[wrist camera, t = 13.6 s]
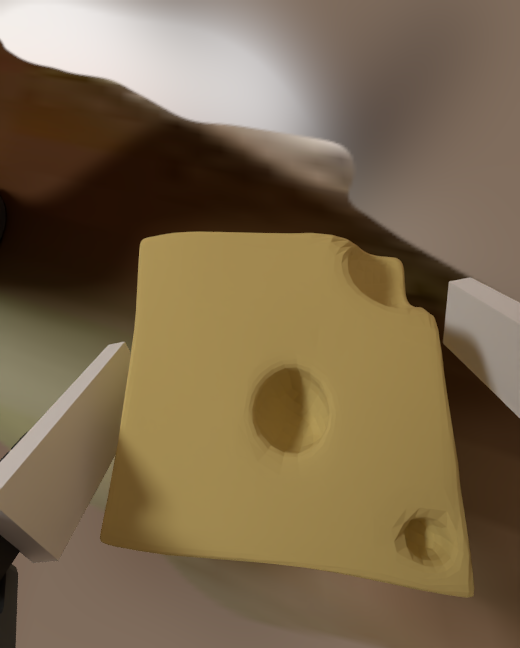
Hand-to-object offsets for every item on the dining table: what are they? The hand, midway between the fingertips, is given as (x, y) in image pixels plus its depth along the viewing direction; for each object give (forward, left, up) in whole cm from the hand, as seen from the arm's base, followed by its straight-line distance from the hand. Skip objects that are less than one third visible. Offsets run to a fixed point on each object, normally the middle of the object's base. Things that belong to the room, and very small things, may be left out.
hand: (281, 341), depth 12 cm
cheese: (+2, 0, -7) cm, 7 cm away
